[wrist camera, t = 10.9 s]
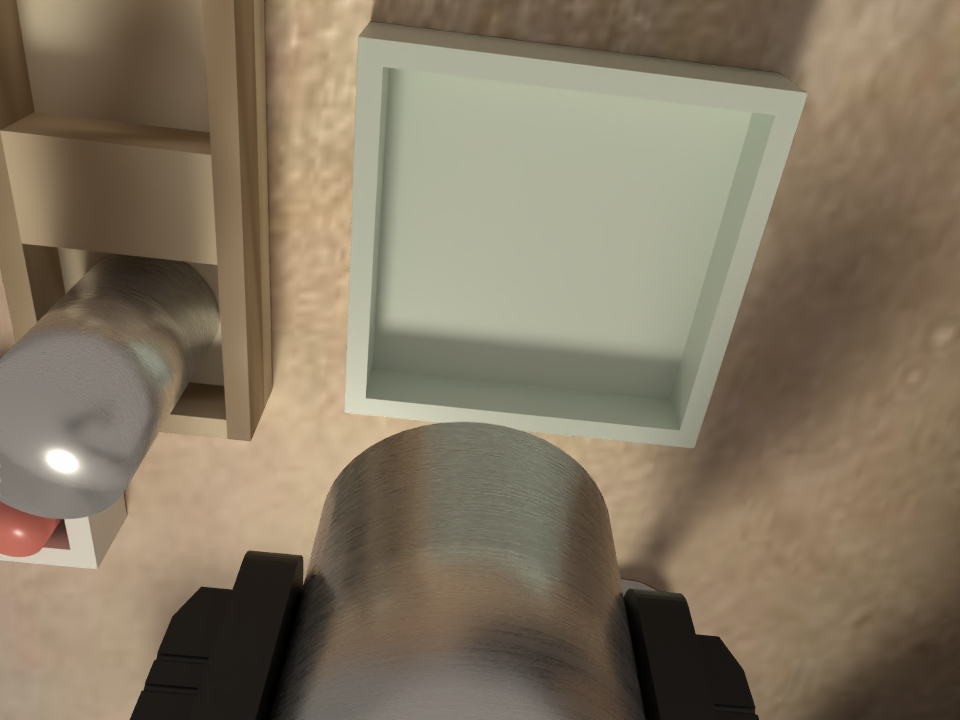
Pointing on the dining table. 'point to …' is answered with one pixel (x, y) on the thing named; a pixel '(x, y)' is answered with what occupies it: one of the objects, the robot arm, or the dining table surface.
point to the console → (80, 539)
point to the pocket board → (145, 89)
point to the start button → (23, 531)
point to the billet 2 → (461, 588)
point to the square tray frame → (553, 231)
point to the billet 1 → (99, 383)
